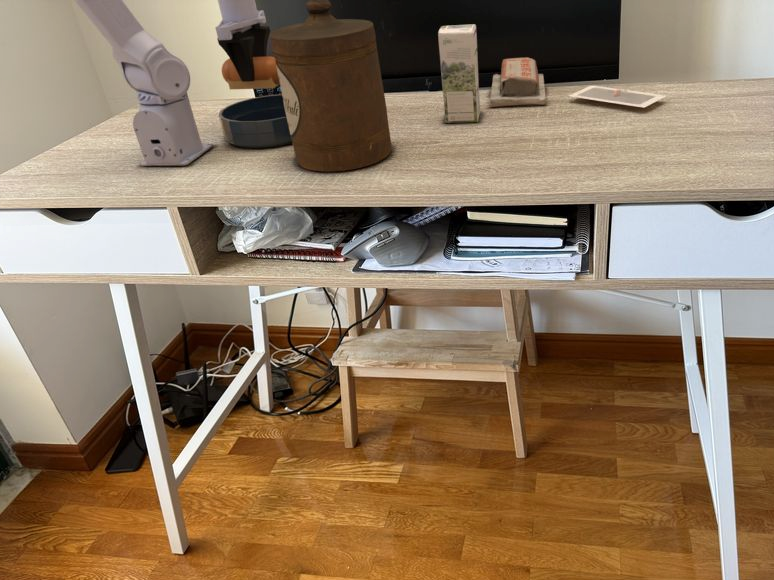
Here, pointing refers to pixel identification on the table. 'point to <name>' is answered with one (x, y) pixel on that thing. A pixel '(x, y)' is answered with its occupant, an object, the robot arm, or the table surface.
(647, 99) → the touchpad
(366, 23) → the wooden container
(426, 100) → the table surface
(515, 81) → the packaged product
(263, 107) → the bowl
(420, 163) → the table surface
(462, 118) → the syrup box
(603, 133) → the table surface
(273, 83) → the bun
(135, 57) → the robot arm
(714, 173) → the table surface
